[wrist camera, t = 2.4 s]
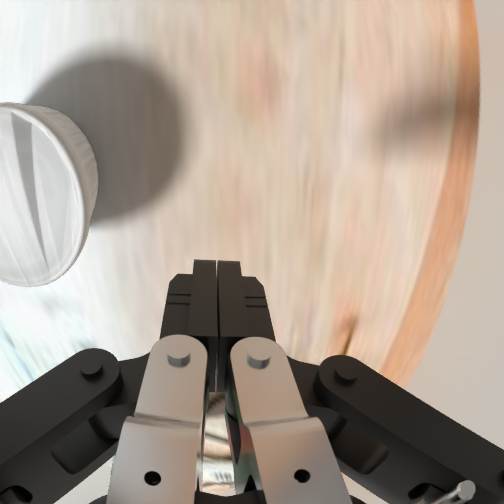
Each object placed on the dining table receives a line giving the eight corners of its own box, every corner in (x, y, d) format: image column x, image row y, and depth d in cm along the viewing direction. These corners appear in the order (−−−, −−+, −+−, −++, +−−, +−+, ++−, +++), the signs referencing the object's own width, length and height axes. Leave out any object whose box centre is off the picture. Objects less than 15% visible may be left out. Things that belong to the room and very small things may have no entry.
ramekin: (147, 189, 19) (126, 226, 15) (47, 271, 21) (19, 315, 17) (51, 58, 14) (4, 58, 9) (-34, 167, 16) (-77, 194, 11)
